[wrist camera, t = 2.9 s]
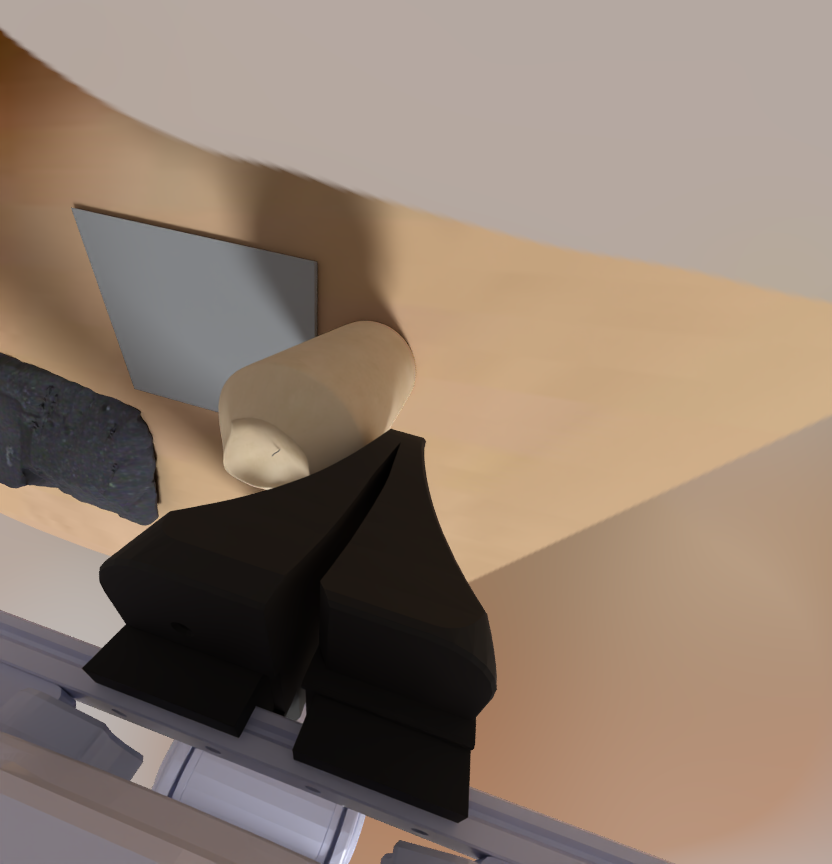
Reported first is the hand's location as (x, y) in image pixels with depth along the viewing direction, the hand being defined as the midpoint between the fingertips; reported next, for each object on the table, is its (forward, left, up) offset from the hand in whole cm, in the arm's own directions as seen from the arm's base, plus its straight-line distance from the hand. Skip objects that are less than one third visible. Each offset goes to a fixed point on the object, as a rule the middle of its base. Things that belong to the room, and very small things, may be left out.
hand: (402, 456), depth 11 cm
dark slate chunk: (-36, +4, -8) cm, 37 cm away
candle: (-3, +2, -8) cm, 9 cm away
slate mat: (-13, +7, -8) cm, 16 cm away
